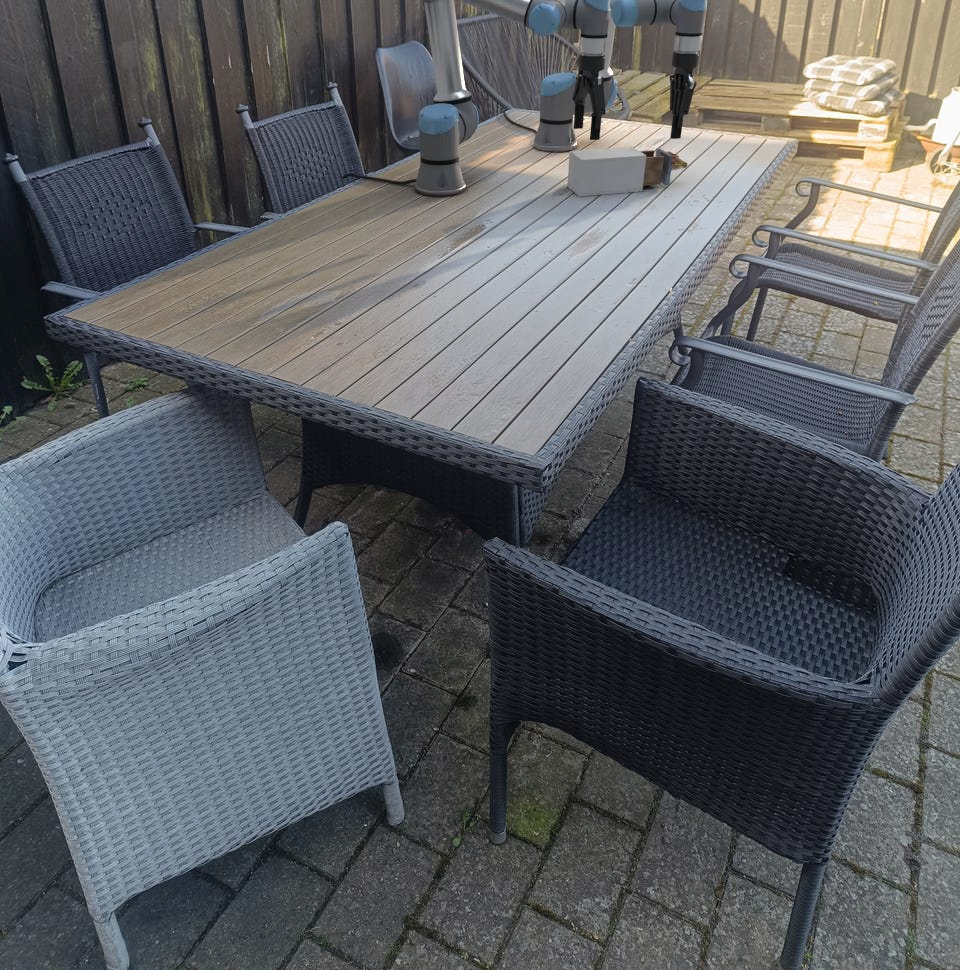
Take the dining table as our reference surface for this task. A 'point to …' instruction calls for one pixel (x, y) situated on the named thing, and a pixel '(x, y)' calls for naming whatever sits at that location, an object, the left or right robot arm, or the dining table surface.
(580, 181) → the grey rectangular block
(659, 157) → the drawer
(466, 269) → the dining table surface
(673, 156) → the dental model
